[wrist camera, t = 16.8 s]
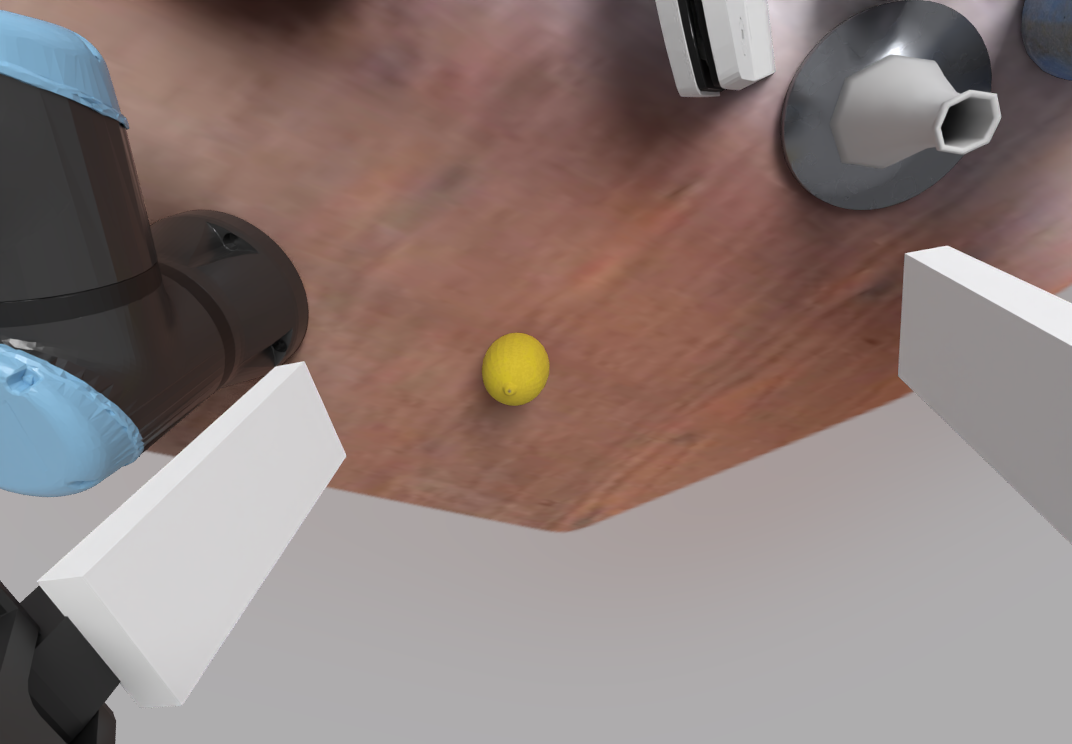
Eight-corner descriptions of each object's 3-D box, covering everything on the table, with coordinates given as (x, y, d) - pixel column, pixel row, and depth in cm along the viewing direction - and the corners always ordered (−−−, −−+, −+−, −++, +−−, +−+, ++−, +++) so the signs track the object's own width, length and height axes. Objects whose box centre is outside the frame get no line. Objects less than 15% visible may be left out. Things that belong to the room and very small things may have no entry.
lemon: (552, 376, 52) (545, 423, 45) (492, 374, 52) (475, 420, 45) (552, 320, 49) (544, 359, 42) (489, 318, 50) (471, 357, 43)
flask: (826, 177, 41) (888, 204, 32) (830, 65, 38) (900, 60, 29) (936, 159, 40) (1032, 181, 31) (949, 42, 37) (1060, 29, 28)
